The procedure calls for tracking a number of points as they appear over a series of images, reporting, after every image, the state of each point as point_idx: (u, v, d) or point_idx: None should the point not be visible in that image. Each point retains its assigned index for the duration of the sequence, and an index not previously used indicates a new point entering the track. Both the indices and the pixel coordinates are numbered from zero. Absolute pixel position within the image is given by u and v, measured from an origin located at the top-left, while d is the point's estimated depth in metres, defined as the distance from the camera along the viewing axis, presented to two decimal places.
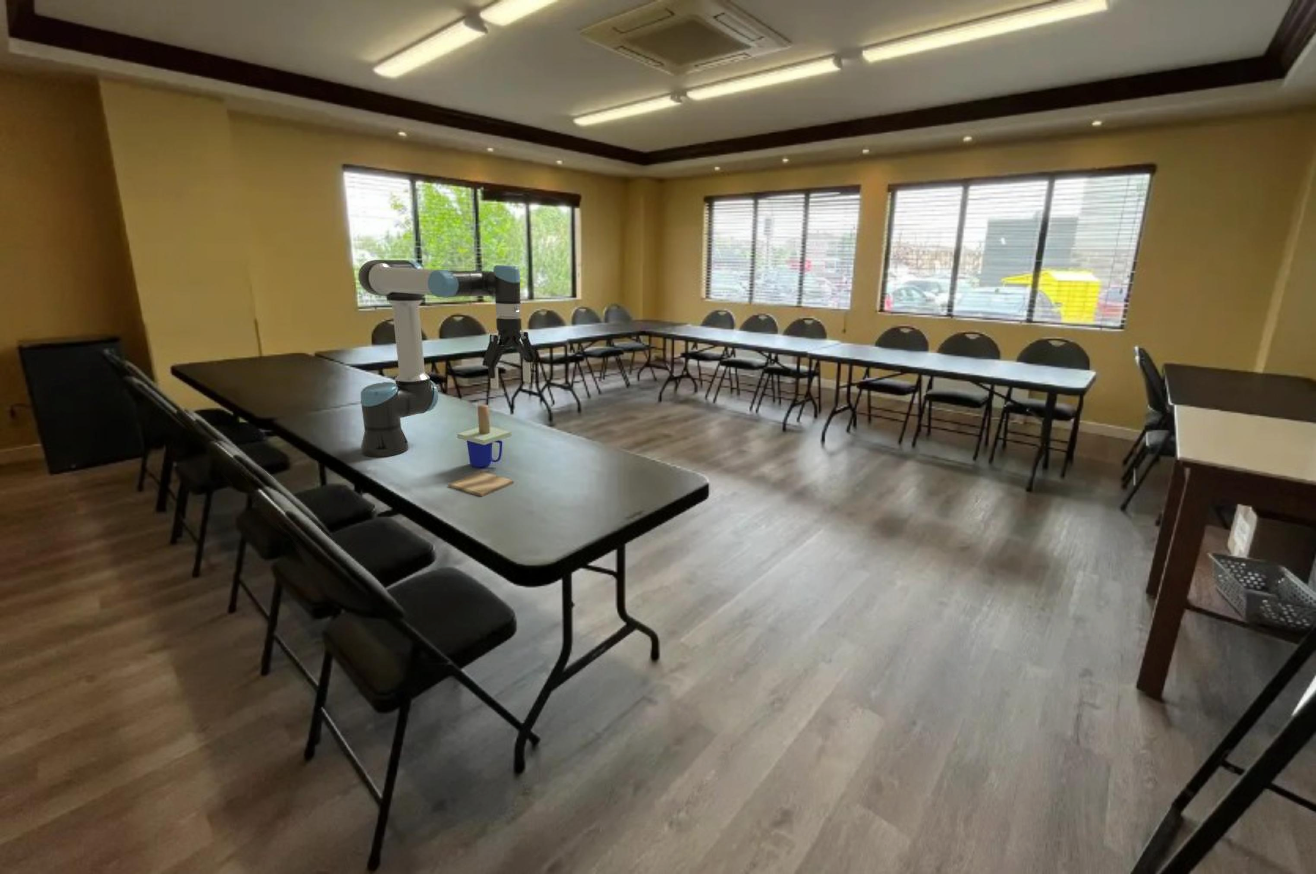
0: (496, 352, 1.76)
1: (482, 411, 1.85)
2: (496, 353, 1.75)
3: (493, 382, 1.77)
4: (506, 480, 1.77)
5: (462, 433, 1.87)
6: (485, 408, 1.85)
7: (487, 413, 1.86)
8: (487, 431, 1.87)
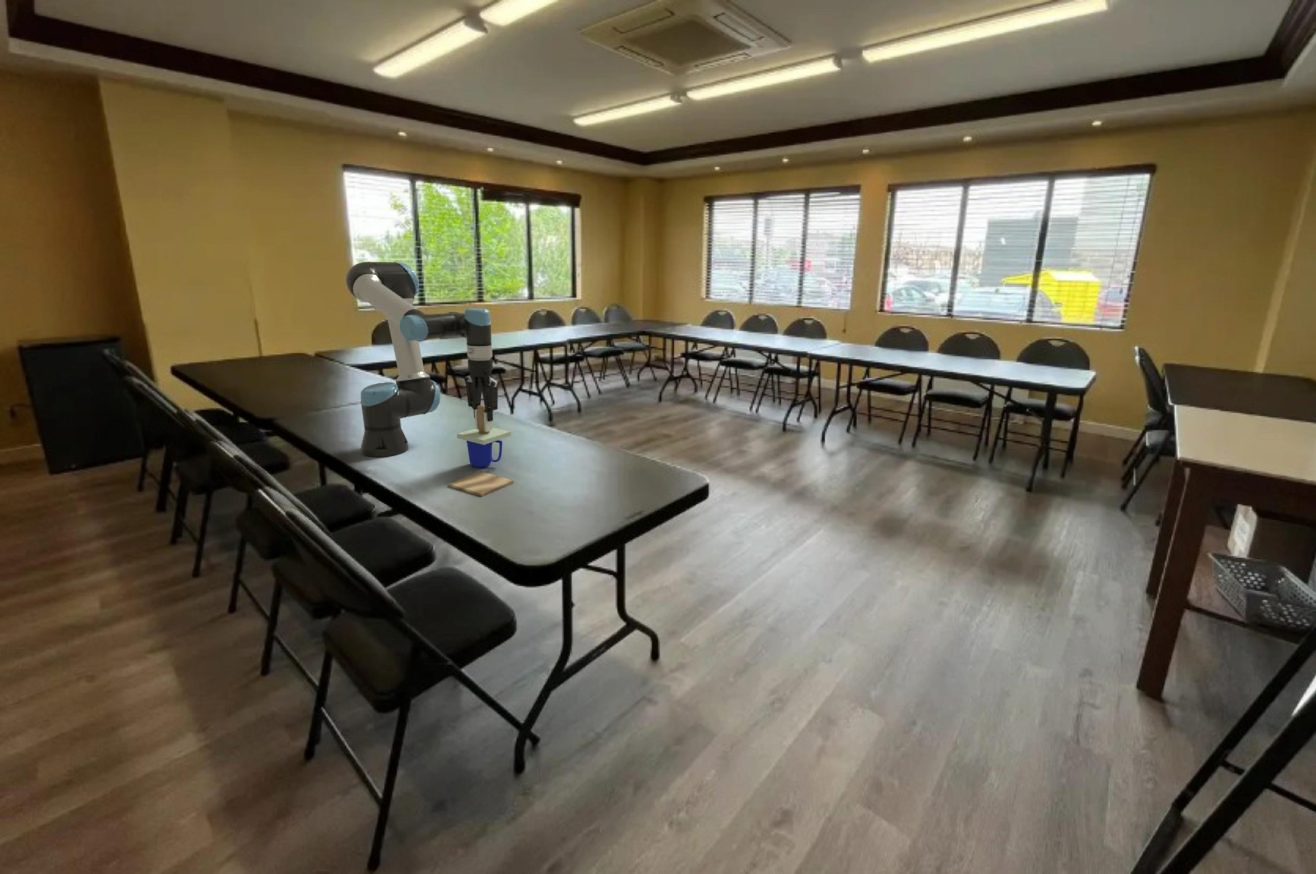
0: None
1: (482, 411, 1.85)
2: None
3: None
4: (506, 480, 1.77)
5: (462, 433, 1.87)
6: None
7: None
8: (487, 431, 1.87)
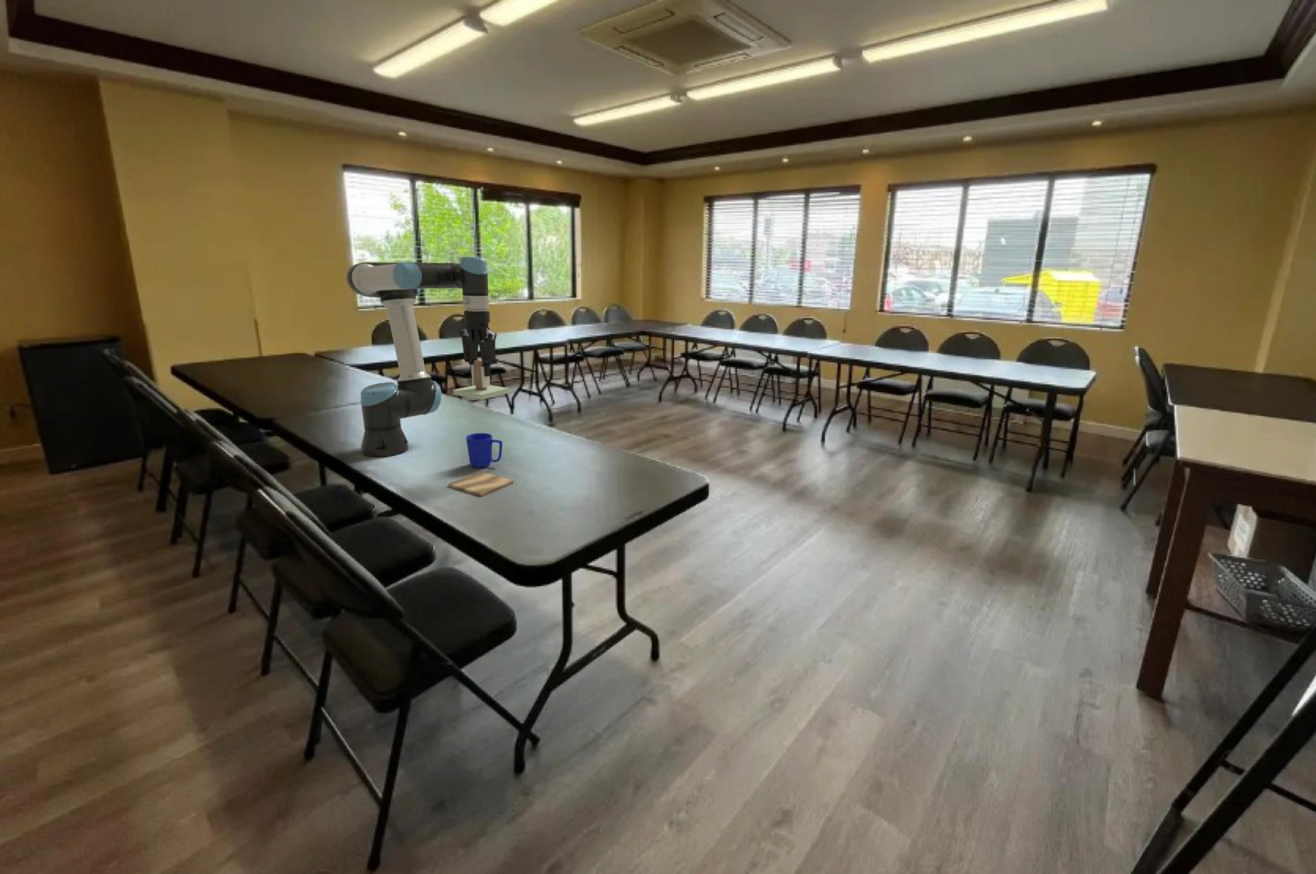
0: None
1: (479, 366, 1.77)
2: None
3: None
4: (506, 480, 1.77)
5: (458, 389, 1.79)
6: None
7: None
8: (484, 387, 1.80)
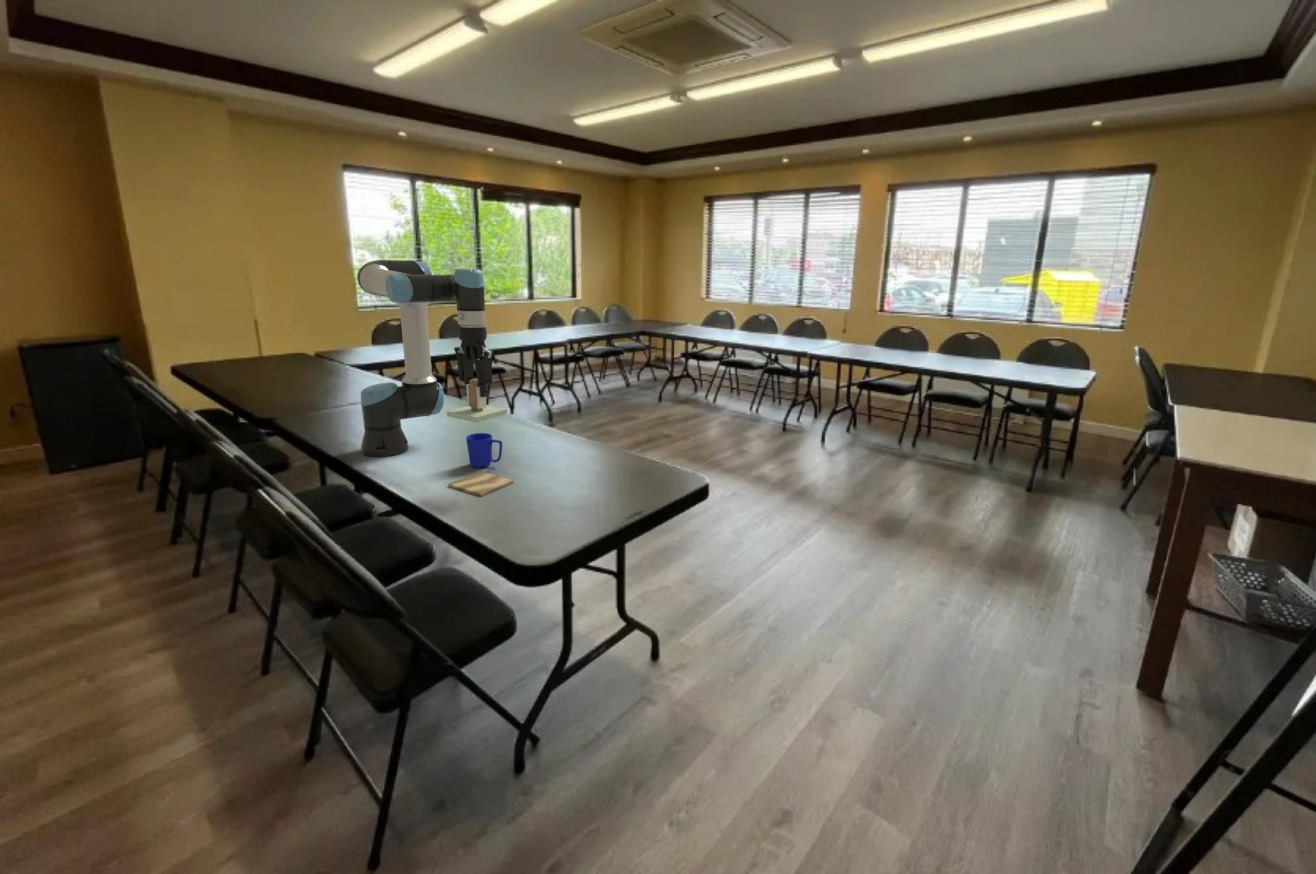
0: None
1: (475, 386, 1.65)
2: None
3: None
4: (506, 480, 1.77)
5: (452, 410, 1.67)
6: None
7: None
8: (480, 408, 1.67)
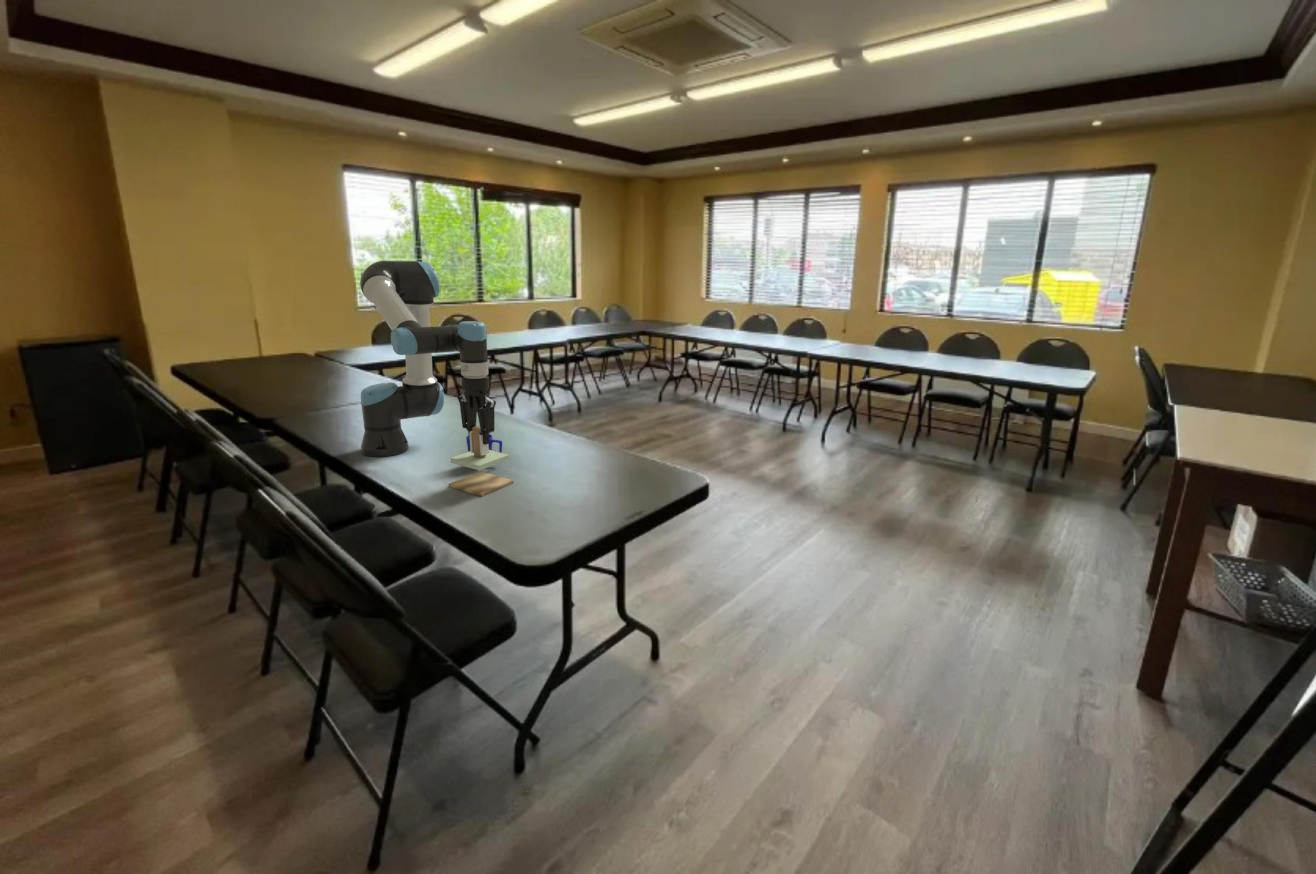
0: None
1: (477, 434, 1.69)
2: None
3: None
4: (506, 480, 1.77)
5: (455, 457, 1.71)
6: (480, 430, 1.69)
7: None
8: (483, 455, 1.72)
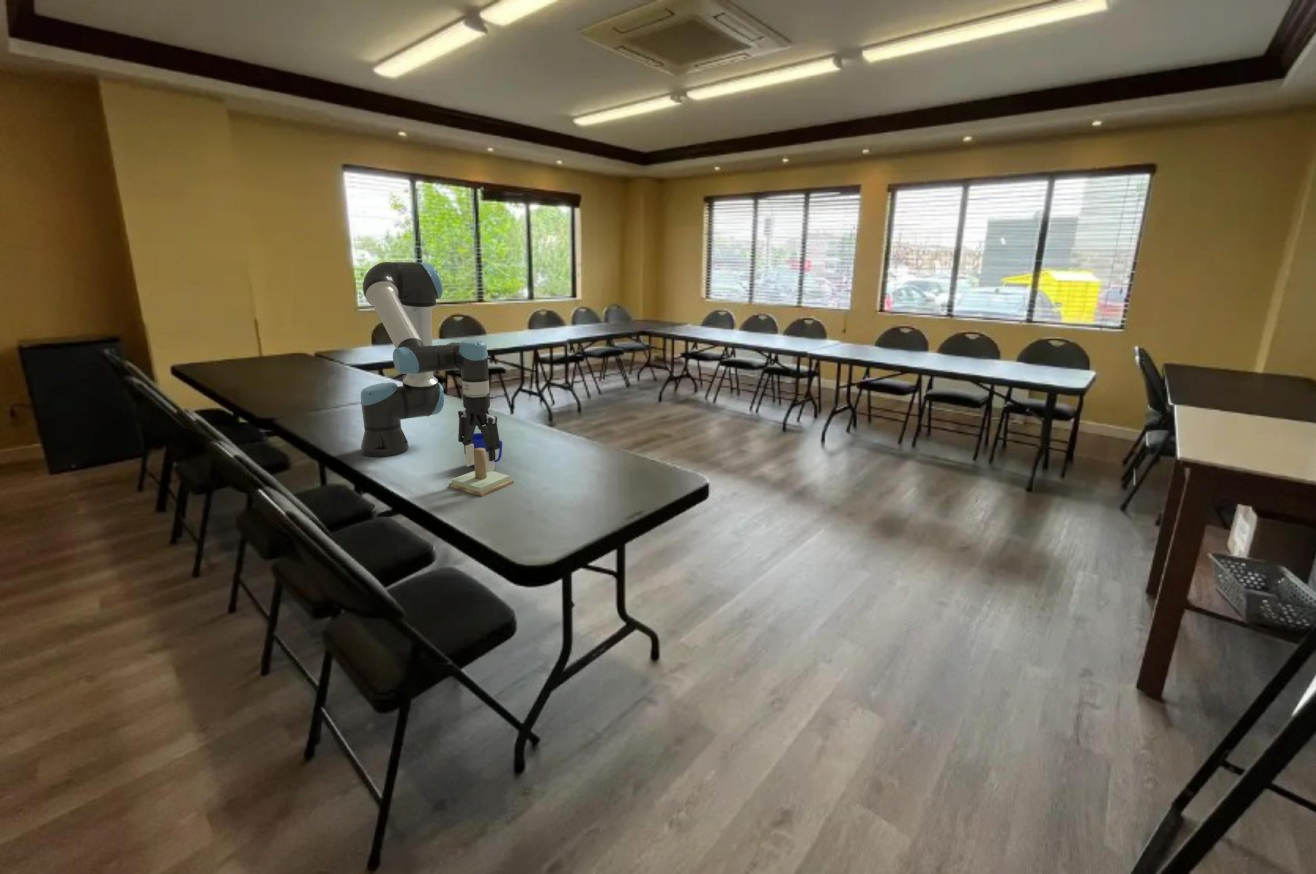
0: None
1: (479, 456, 1.71)
2: None
3: None
4: None
5: (457, 478, 1.73)
6: (481, 452, 1.71)
7: (484, 457, 1.72)
8: (484, 476, 1.74)
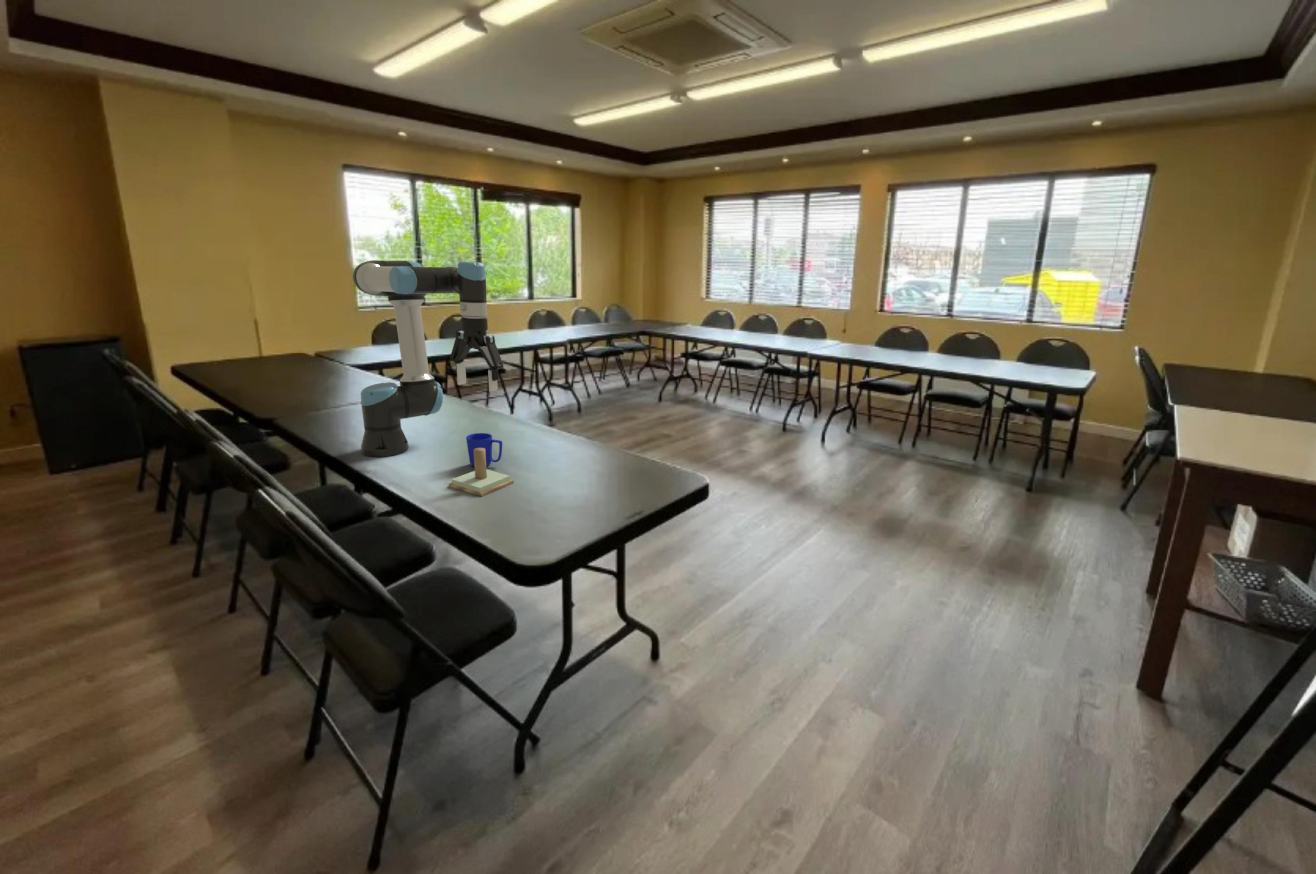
0: None
1: (479, 456, 1.71)
2: None
3: None
4: None
5: (457, 478, 1.73)
6: (481, 452, 1.71)
7: (484, 457, 1.72)
8: (484, 476, 1.74)
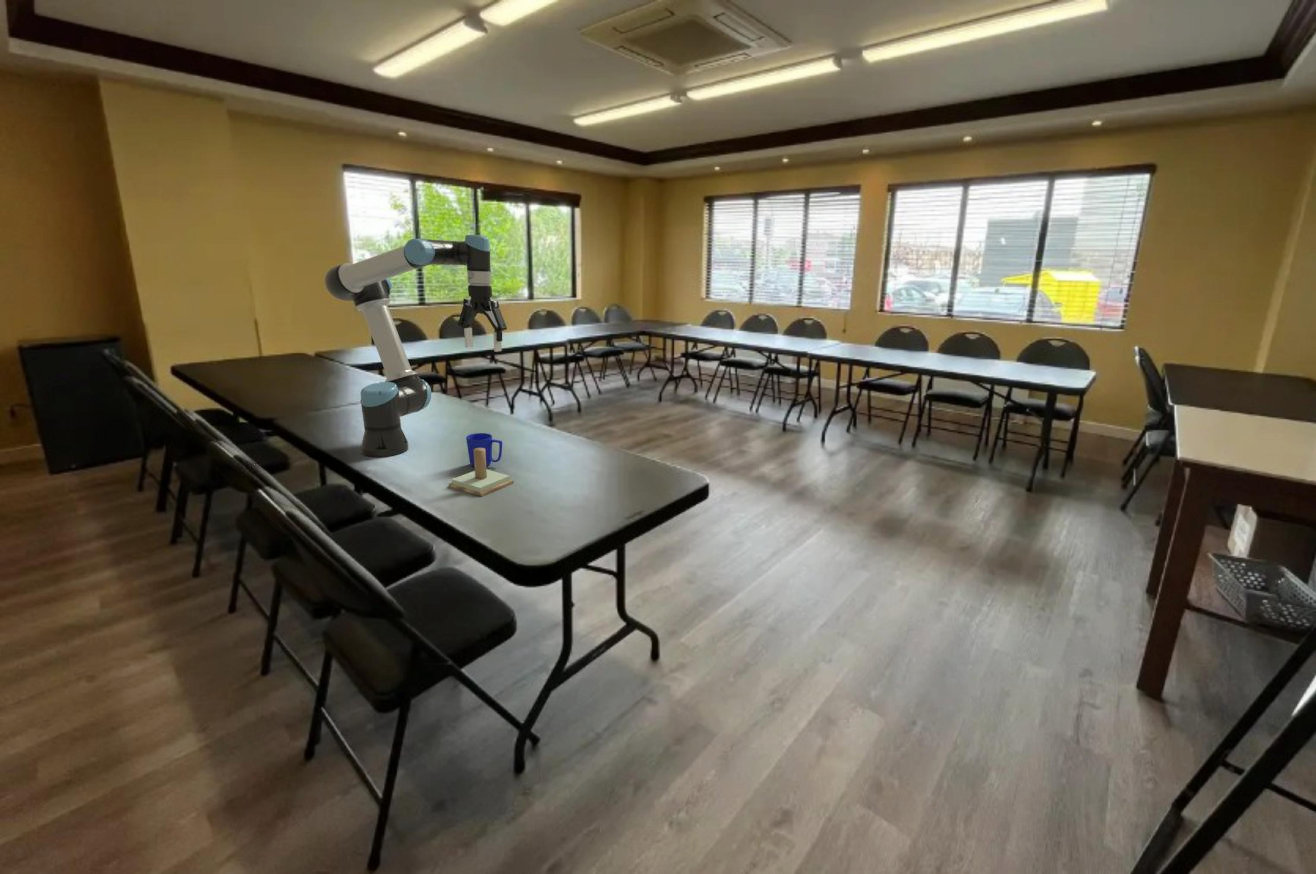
0: None
1: (479, 456, 1.71)
2: None
3: None
4: None
5: (457, 478, 1.73)
6: (481, 452, 1.71)
7: (484, 457, 1.72)
8: (484, 476, 1.74)
